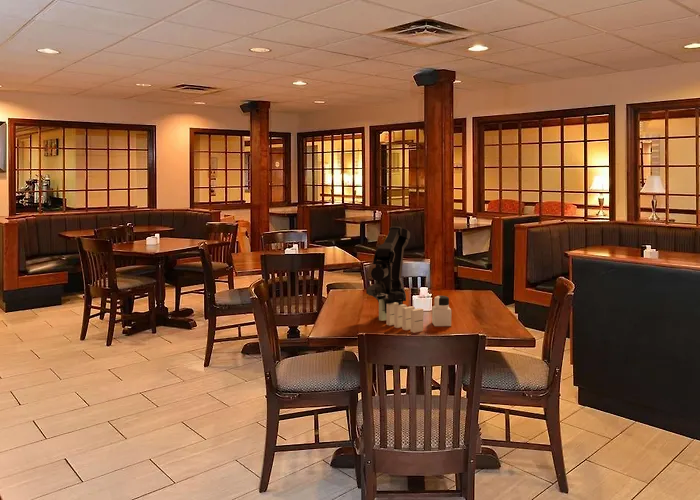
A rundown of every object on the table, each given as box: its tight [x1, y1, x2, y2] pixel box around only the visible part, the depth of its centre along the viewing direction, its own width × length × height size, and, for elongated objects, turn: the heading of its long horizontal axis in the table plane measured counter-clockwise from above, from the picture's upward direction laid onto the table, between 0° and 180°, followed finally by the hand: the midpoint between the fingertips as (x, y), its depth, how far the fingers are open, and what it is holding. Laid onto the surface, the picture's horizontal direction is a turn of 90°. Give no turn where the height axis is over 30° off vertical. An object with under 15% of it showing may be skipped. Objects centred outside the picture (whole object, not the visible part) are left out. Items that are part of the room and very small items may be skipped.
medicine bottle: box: [431, 295, 452, 327], centre depth 262 cm, size 7×7×12 cm
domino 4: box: [410, 307, 424, 334], centre depth 251 cm, size 2×5×9 cm, turn 127°
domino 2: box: [393, 303, 408, 329], centre depth 259 cm, size 2×5×9 cm, turn 127°
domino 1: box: [385, 302, 399, 326], centre depth 263 cm, size 2×5×9 cm, turn 127°
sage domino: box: [378, 299, 386, 322], centre depth 267 cm, size 2×5×9 cm, turn 127°
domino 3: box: [401, 305, 416, 331], centre depth 255 cm, size 2×5×9 cm, turn 127°
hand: (384, 312), depth 267 cm, fingers closed on sage domino, 2 cm apart
